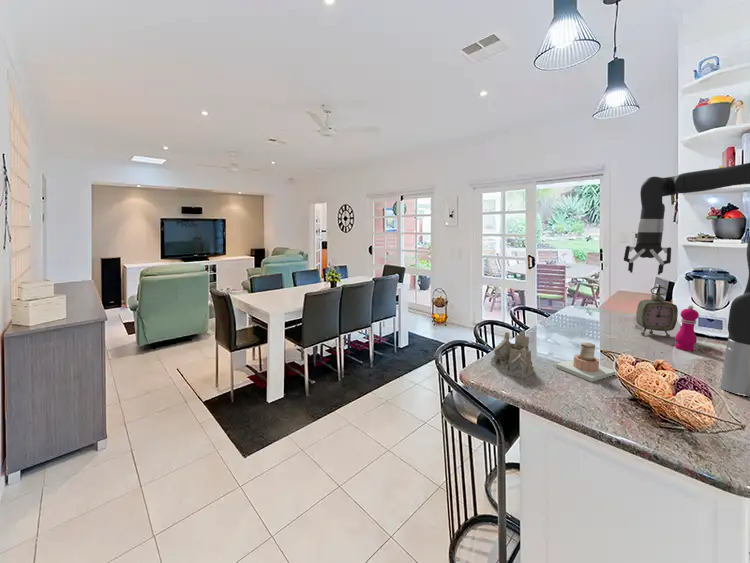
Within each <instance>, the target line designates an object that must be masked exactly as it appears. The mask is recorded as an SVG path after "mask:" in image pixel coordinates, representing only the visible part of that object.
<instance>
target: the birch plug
mask: <svg viewBox="0 0 750 563" xmlns="http://www.w3.org/2000/svg"><path fill="white" fill-rule="evenodd" d="M580 344H581V345H580V352H579V355H580V359H581V360H584V361H590V362H593V361H594V357H595V351H596V350H595V349H596V345H595V344H594V343H592V342H586V341H585V342H581V343H580Z"/></svg>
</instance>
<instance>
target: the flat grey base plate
mask: <svg viewBox="0 0 750 563" xmlns="http://www.w3.org/2000/svg"><path fill="white" fill-rule="evenodd" d="M555 368H556V369H559V370H561V371H564V372H566V373H568V374H571V375H574V376H576V377H578V378H581V379H584V380H586V381H589V382H591V383H594V382H596V381H599V380H600V381H601V380H604V379H607V378H606V377H608V378H610V377H609V376H611V377H613V376H612V375H615V371H616V370H615V369H612V368H608V367H605V366H603V365H601V364H600V359H599V358H597V357H595V356H594V361H593V362H590V361H584V360H581V359H580V354H576V355H575V354H574V356H573V359H572V360H567V361H563V362H562V361H561V362H559V363H556V364H555ZM615 376H616V375H615ZM603 378H604V379H603Z"/></svg>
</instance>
